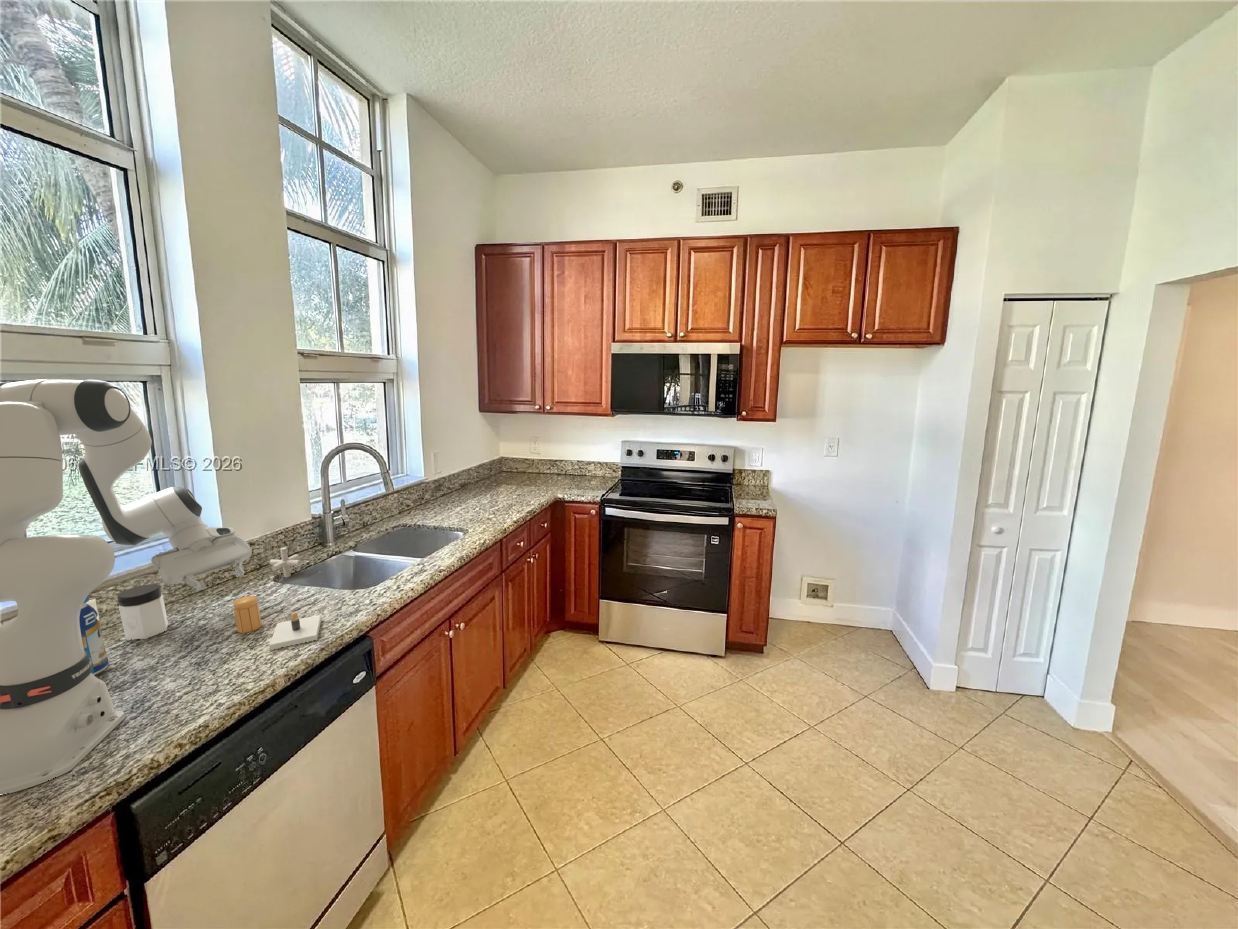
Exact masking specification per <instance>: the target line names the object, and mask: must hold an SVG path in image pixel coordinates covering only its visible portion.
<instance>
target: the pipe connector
mask: <svg viewBox="0 0 1238 929" xmlns="http://www.w3.org/2000/svg"><path fill="white" fill-rule="evenodd" d="M279 550H280V555H281V556H280V557H281V559H270V560H269V565H270V566H271V568H270V569H271V570H272V571H273V572H274V571H277V570H279V569H281V568H282V569H283V570H282V572H283V577H284V578H290V577H291V575H292V574H291V568H290V566H301V564H302V560H300V556H299V554H298V553H296V554H293V555H291V556H289V555H288V548H287V546H286V547H281V548H280V549H279Z"/></svg>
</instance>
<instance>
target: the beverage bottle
mask: <svg viewBox="0 0 1238 929" xmlns="http://www.w3.org/2000/svg"><path fill="white" fill-rule="evenodd" d="M89 595H90V594H89ZM89 595H88V596H87V597H86V599H85V601H84V603H83V605H82V608H81V611H80V616H79V623H80V631H81V637H82V642H83V647H84V651H85V652H87V653H88V654H89V657H90V658H91V662H92V663H91V665H92V672H91V673H92V674H93V675H94V676H96V675H98V674H100V673H102V672H103V671H105V670H106V669H107V668H108V667H109V664H110V663H109V662H110V661H109V658H108V656H107V651H106V650H107V649H106V647H105V642H104V637H103V633H102V623H101V621H100V620H99V619H98V618H97V617H98V614H99V613H98V611H97V610H96V609H95V608H94V607H93V606H92V605H89V604H88V602H89V601H90V597H89Z"/></svg>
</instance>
